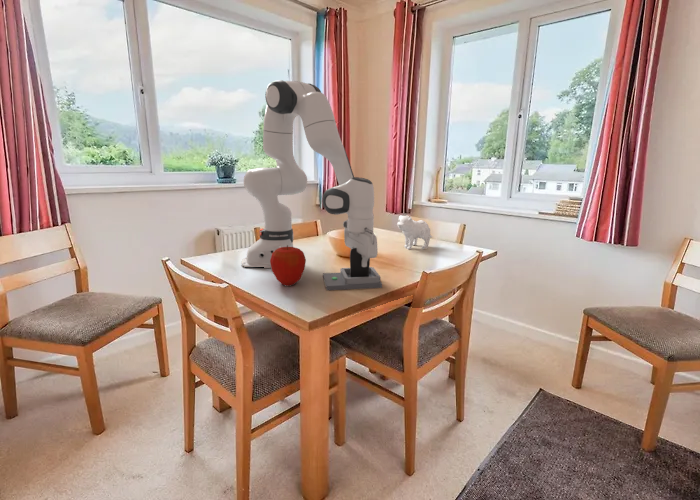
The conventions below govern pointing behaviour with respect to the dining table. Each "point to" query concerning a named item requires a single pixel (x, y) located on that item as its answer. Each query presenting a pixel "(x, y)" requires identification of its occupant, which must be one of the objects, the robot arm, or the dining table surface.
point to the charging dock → (351, 280)
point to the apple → (288, 264)
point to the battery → (358, 264)
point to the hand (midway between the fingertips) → (359, 264)
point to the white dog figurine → (414, 231)
